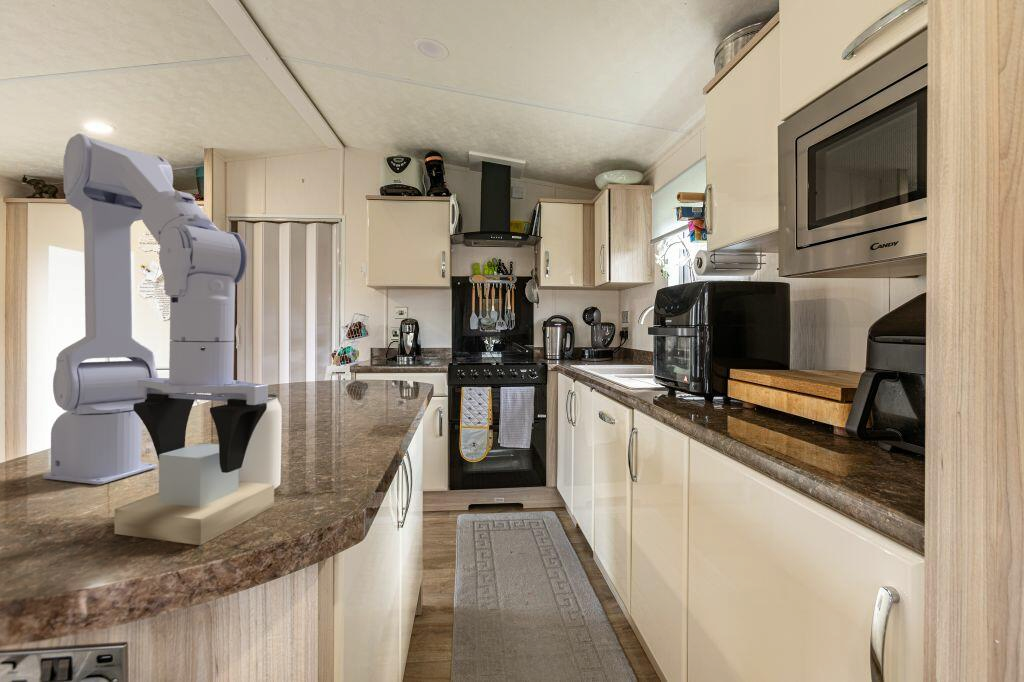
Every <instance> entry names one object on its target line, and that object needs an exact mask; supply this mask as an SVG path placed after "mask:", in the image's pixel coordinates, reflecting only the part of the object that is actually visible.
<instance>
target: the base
mask: <svg viewBox="0 0 1024 682" xmlns="http://www.w3.org/2000/svg"><path fill="white" fill-rule="evenodd" d="M273 507H275V490H274V485H271V484H262V483H252V482H242V481H238V491H236V492H234V493H231V494H229V495H227V496H225V497H222V498H220V499H218V500H215V501H213V502H211V503H209V504H206V505H204V506H202V507H193V506H185V505H176V504H168V503H159V492H158V493H157V492H156V493H154V494H151V495H149V496H146V497H143V498H140V499H138V500H135V501H133V502H129V503H127V504H124V505H122V506H119V507H116V508H114V534H115V535H121V536H128V537H135V538H144V539H150V540H151V539H152V540H158V541H164V542H165V541H166V542H173V543H180V544H181V543H182V544H188V545H195V546H196V545H197V546H202V545H204V544H206V543H208V542H210V541H211V540H213V539H215V538H217V537H219V536H221V535H222V534H225V533H227V532H228V531H230V530H232V529H234V528H236V527H237V526H240V525H241V524H243V523H245V522H246V521H248V520H250V519H253V518H254V517H257V516H258V515H260V514H262V513H264V512H265V511H267V510H269V509H271V508H273Z"/></svg>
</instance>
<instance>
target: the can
mask: <svg viewBox="0 0 1024 682" xmlns="http://www.w3.org/2000/svg"><path fill="white" fill-rule="evenodd" d="M266 403H267V409H266V411H265V412H264V414H263V415H262V417H261V418H260V420H259V422H258V424H257V425H256V427H255V429H254V431H253V433H252V436H251V438H250V441H249V444H248V447H247V450H246V453H245V456H244V460H243V464H242V467H241V468H239V477H238V481H242V482H252V483H262V484H271V485H274V491H276V490H277V489H278V487H279V486H280V485H281V474H282V473H281V471H282V464H281V463H282V421H283V419H282V418H283V417H282V415H283V413H282V411H283V410H282V405H281V403H280V402H279V394H275V393H268V402H266Z"/></svg>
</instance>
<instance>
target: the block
mask: <svg viewBox="0 0 1024 682" xmlns="http://www.w3.org/2000/svg"><path fill="white" fill-rule="evenodd" d="M238 477H239V469H237V470H234V471H231V472H229V473H223V472H221V468H220V460H219V443H218V444H217V443H209V442H207V443H206V442H199V443H196V444H192V445H188V446H185V447H184V448H181V449H177V450H173V451H170V452H166V453H163V454H159V460H158V493H159V503H168V504H176V505H185V506H193V507H202V506H204V505H206V504H209V503H211V502H213V501H215V500H218V499H220V498H222V497H225V496H227V495H229V494H231V493H234V492H236V491H238Z"/></svg>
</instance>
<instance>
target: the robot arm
mask: <svg viewBox="0 0 1024 682" xmlns="http://www.w3.org/2000/svg"><path fill="white" fill-rule="evenodd" d="M66 143H67V144H66V147H65V151H64V155H63V162H62V163H63V167H62V169H63V171H62V172H63V192H64V194H65V203H67V204H68V205H70V206H71V207H73V208H74V209H76V210H78V211H79V212H80V213H81V219H82V225H83V245H84V249H83V250H84V254H83V256H84V257H83V258H84V313H85V314H84V315H85V316H84V317H85V318H84V319H85V320H84V321H85V323H84V325H85V336H84V337H82V338H80V339H79V340H77V341H76V342H74V343H72V344H70V345H68V346H67V347H65V348H64V349H62V350H61V351H60V352H59V353H58V354H57V356H56V358H55V359H56V363H55V364H56V365H55V371H54V374H53V379H52V388H53V389H52V391H53V396H54V401H55V403H56V405H57V406H58V407H59V408H61V410H63V411H64V412H63V413H61V414H60V415H59V416H58V417H57V418H56V420H55V421H54V422H53V424H52V427H51V430H50V472H48V473H44V474H42V479H47V480H55V481H56V480H57V481H63V482H72V483H83V484H91V485H103V484H106V483H107V484H108V483H109V482H112V481H116V480H120V479H123V478H127V477H129V476H132V475H137V474H139V473H142V472H147V471H149V470H152V469H155V468H159V463H153V462H146V461H145V462H143V461H142V426H143V425H144V426H145V428H146V430H147V432H148V433H149V436H150V439H151V440H152V441H151V442H152V443H153V446H154V450H155V453H156V457H157V460H158V461H159V454H163V453H166V452H170V451H173V450H177V449H181V448H184V447H186V433H187V426H188V422H189V418H190V414H191V410H192V409H193V406H194V404H195V403H194V402H195V401H196V400H199V401H211V402H225V403H226V404H222V405H217V406H211V407H209V413H210V415H211V418H212V419H213V422H214V425H215V429H216V433H217V434H216V435H217V439H218V440H217V441H218V444H219V460H220V468H221V472H223V473H229V472H231V471H234V470H237V469H239V468H241V467H242V464H243V460H244V456H245V453H246V450H247V447H248V444H249V441H250V438H251V436H252V433H253V431H254V429H255V427H256V425H257V424H258V422H259V420H260V418H261V417H262V415H263V414H264V412H265V411H266V409H267V403H266V402H268V394H269V384H266V383H265V384H263V383H256V382H255V383H254V382H247V381H242V380H237V379H236V380H235V379H234V378H235V377H234V371H235V370H234V365H235V311H236V309H235V306H236V303H235V302H236V301H235V300H236V285H237V284H239V283H240V282H241V281H242V280H243V277H244V276H245V274H246V271H247V266H248V250H247V246H246V244H245V243H246V242H244V240H243V239H242V237H241V236H242V235H241V234H239V233H237V232H236V231H235V232H233V231H224V230H220V229H219V228H218V227H217V226H216V225H215V224H214V222H213V221H212V220H211V219H210V217H208V215H207V214H206V213H205V211H204V210H203V209H202V208H201V207H200V205H198V204H197V203H196V201H195V200H196V199H195V196H193V195H192V193H189V192H184V191H179V190H175V188H174V187H173V185H174V173H173V168H172V165H171V164H170V163H169V161H168V160H167V159H166V158H164V157H162V156H154V155H151V154H147V153H145V152H144V153H143V152H140V151H137V150H134V149H130V148H126V147H122V146H120V145H117V144H116V145H115V144H112V143H109V142H107V141H102V140H98V139H96V138H93V137H88V136H87V135H86V134H82V133H76V134H75V135H74V136H71V137H70V138H69V140H68V141H67V142H66ZM139 221H142V223H143V224H144V226H145V227H146V228H147V230H148V231H149V233H150V234H151V235H152V237H153V238H154V240H155V241H156V242H157V244H158V245H159V247H160V248H159V252H158V260H159V266H160V270H161V273H162V276H163V283H164V284H163V286H164V287H163V290H164V291H165V293H164V294H165V295H166V296H168V297H169V298H170V300H169V301H170V303H169V310H170V311H169V361H168V362H169V369H168V370H169V371H168V372H169V375H168V377H166V378H165V377H159V373H158V370H157V367H156V364H155V363H156V361H155V355H154V351H153V350H151V349H150V348H149V347H147V346H146V345H144V344H142V343H140V342H139V341H137V340H136V339H135V338H133V311H132V310H133V307H132V306H133V302H132V300H133V299H132V294H133V293H132V292H133V291H132V290H133V289H132V242H131V241H132V239H131V238H132V235H131V234H132V225H133V224H134V222H139ZM104 358H105V359H106V358H107V359H109V358H110V359H111V358H112V359H113V358H124V359H125V358H126V359H128V360H117V361H116V360H113V361H88V362H87V361H86V360H91V359H104ZM84 361H86V362H84ZM142 423H143V425H142Z"/></svg>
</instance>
